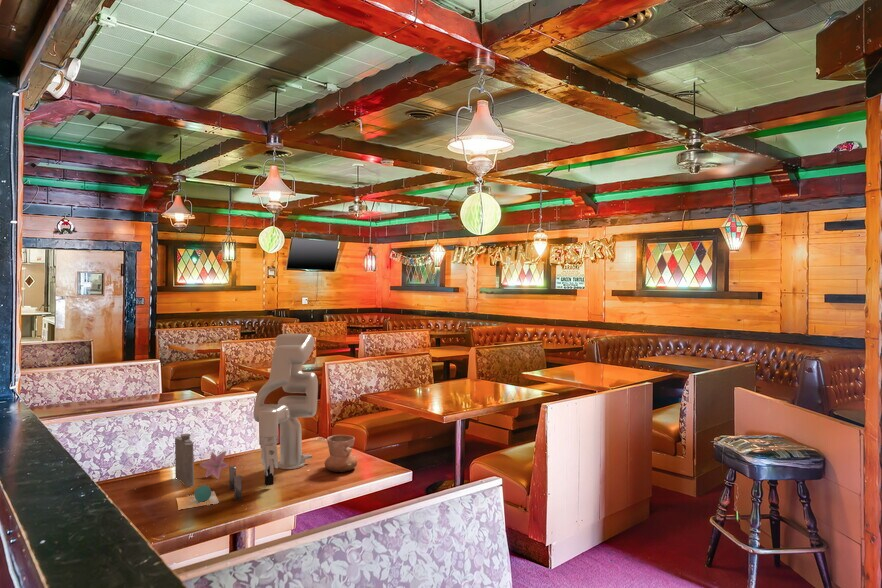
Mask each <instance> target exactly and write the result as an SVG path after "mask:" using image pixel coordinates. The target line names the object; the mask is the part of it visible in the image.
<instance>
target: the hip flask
mask: <svg viewBox="0 0 882 588" xmlns="http://www.w3.org/2000/svg"><path fill="white" fill-rule="evenodd" d="M174 450H175V451H174V455H175V457H174V458H175V463H174V464H175V467H174V468H175V469H174V471H175V479H176V478H177V479H179V480H181V481H182V482H183V483H184V484H185V485H184V484H183V483H182V482H181V481H180V482H181V483H182V484H183V485H184V487H185V486H186V488H192V487H191V486H193V487H194V486H195V472H194V471H195V470H194V469H195V468H194V466H195V465H194V462H195V461H194V460H195V459H194V451H195V450H194V442H193V441H192V440H191V433H182V434H180V436H176V437H174ZM177 479H176V480H177ZM179 480H178V481H179Z"/></svg>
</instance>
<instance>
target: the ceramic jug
mask: <svg viewBox="0 0 882 588" xmlns="http://www.w3.org/2000/svg"><path fill="white" fill-rule="evenodd" d="M326 441H327V445H328V451H329V456H328V457H327V458H326V459H325V461H324V467H325V468H326V469H327V470H329V471H330V472H334V473H346V472H348V471H351V470H353V469H354V468H357V465H358V460H357V458H356V457H355V455H352V454H351V453H352V450H353V447H354V444H355V441H356V439H355V436H353V435H349V434H348V435H347V434H334V435H331V436H328V437H327V439H326Z"/></svg>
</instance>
